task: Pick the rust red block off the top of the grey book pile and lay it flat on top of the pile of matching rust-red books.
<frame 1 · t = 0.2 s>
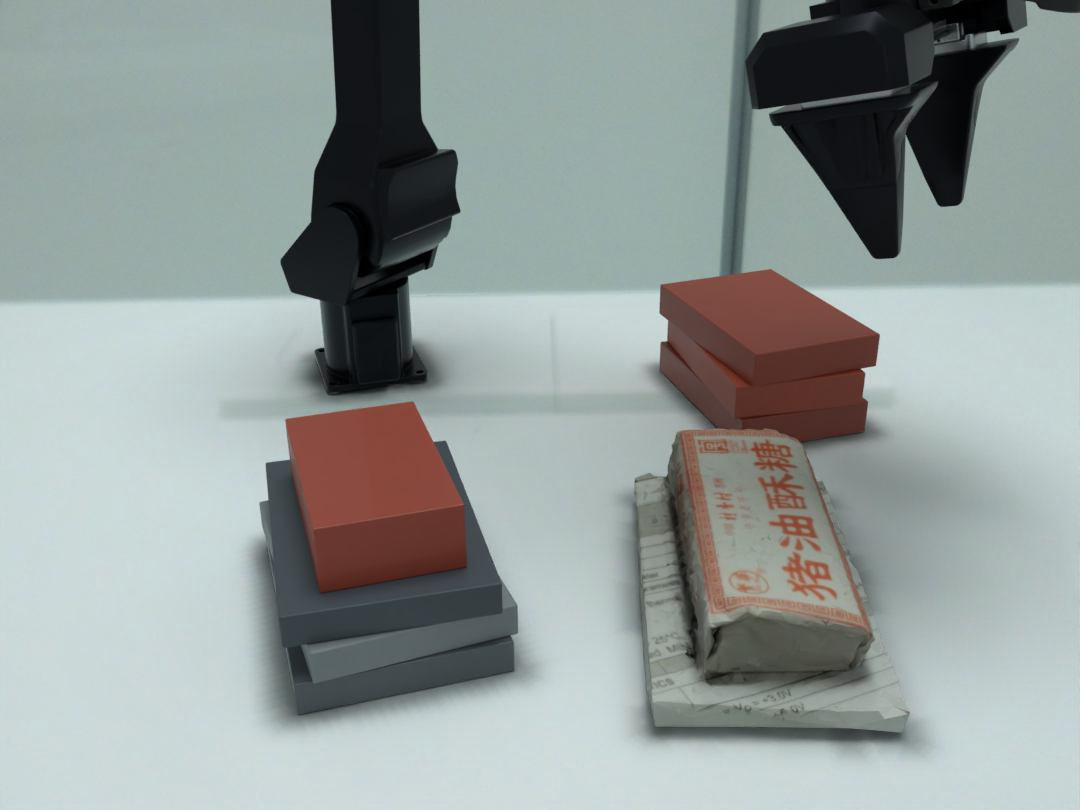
hand: (920, 230, 52), 15 cm above the table, tool pointing down, fingers open, 9 cm apart
rust red block: (373, 518, 51), point 4 cm above the table, touching grey book pile
packaged product: (747, 604, 53), on the table
rust book pile: (756, 399, 71), on the table
grey book pile: (380, 602, 53), on the table
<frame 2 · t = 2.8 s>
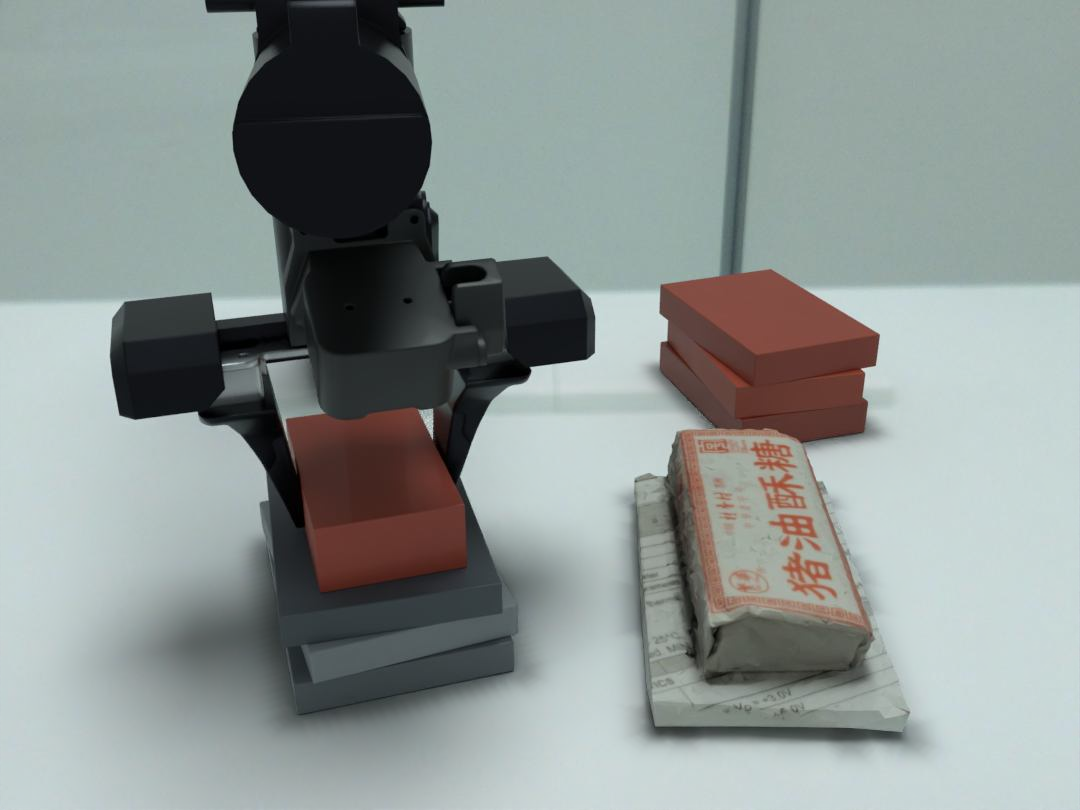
hand: (372, 511, 50), 5 cm above the table, tool pointing down, fingers closed on rust red block, 6 cm apart
rust red block: (373, 518, 51), point 5 cm above the table, touching grey book pile, gripper
everything else where it was.
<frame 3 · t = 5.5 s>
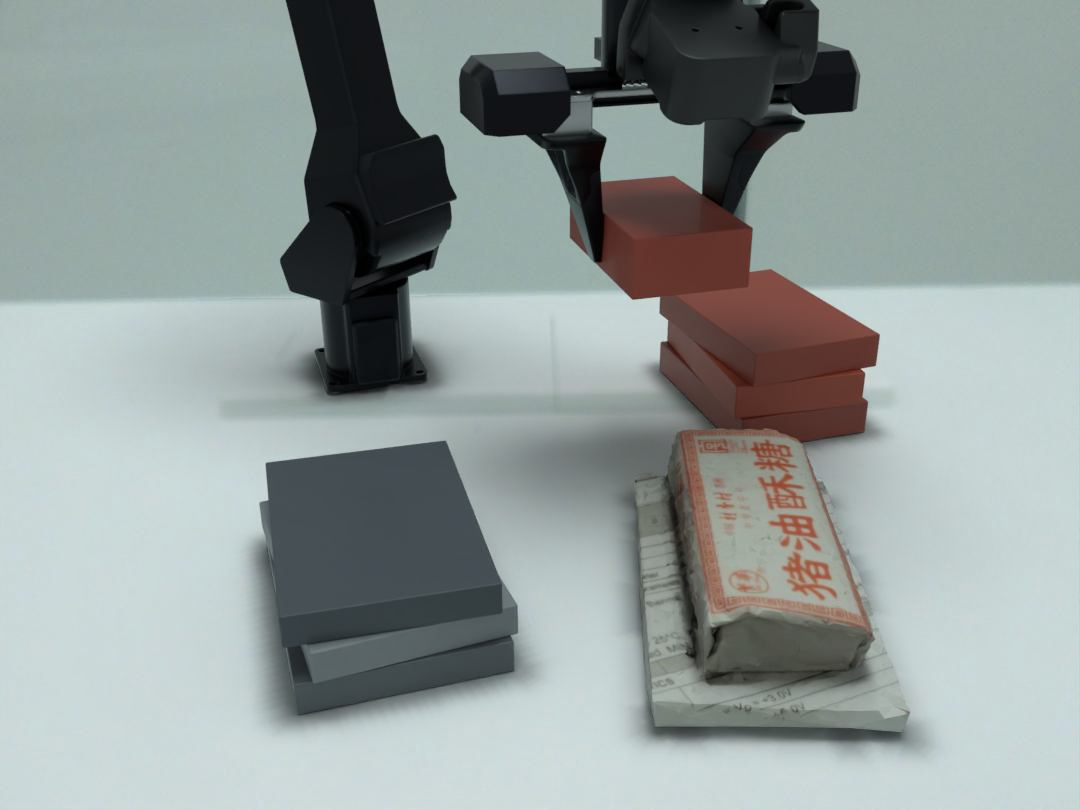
hand: (653, 254, 59), 12 cm above the table, tool pointing down, fingers closed on rust red block, 6 cm apart
rust red block: (653, 261, 59), point 12 cm above the table, touching gripper
everything else where it was.
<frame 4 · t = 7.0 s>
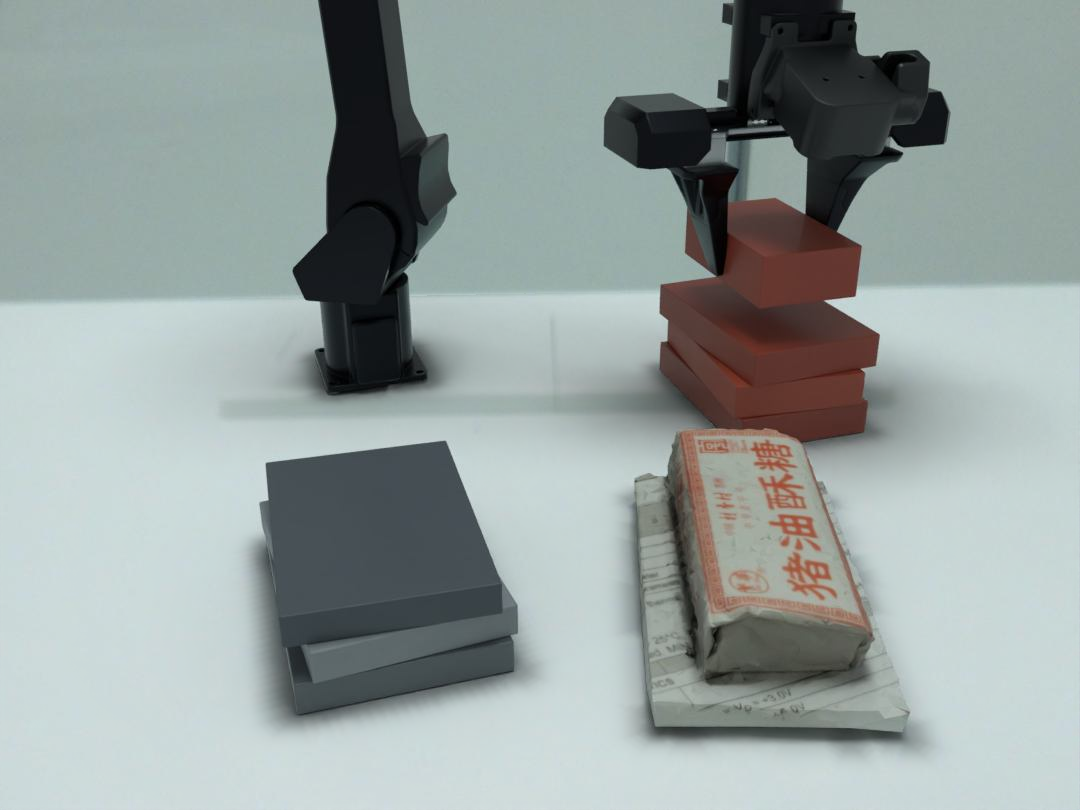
hand: (765, 268, 68), 9 cm above the table, tool pointing down, fingers closed on rust red block, 6 cm apart
rust red block: (765, 274, 68), point 8 cm above the table, touching gripper
everything else where it was.
when the fingers open (6 cm above the table, at t = 8.2 s): rust red block stays where it is, resting on rust book pile.
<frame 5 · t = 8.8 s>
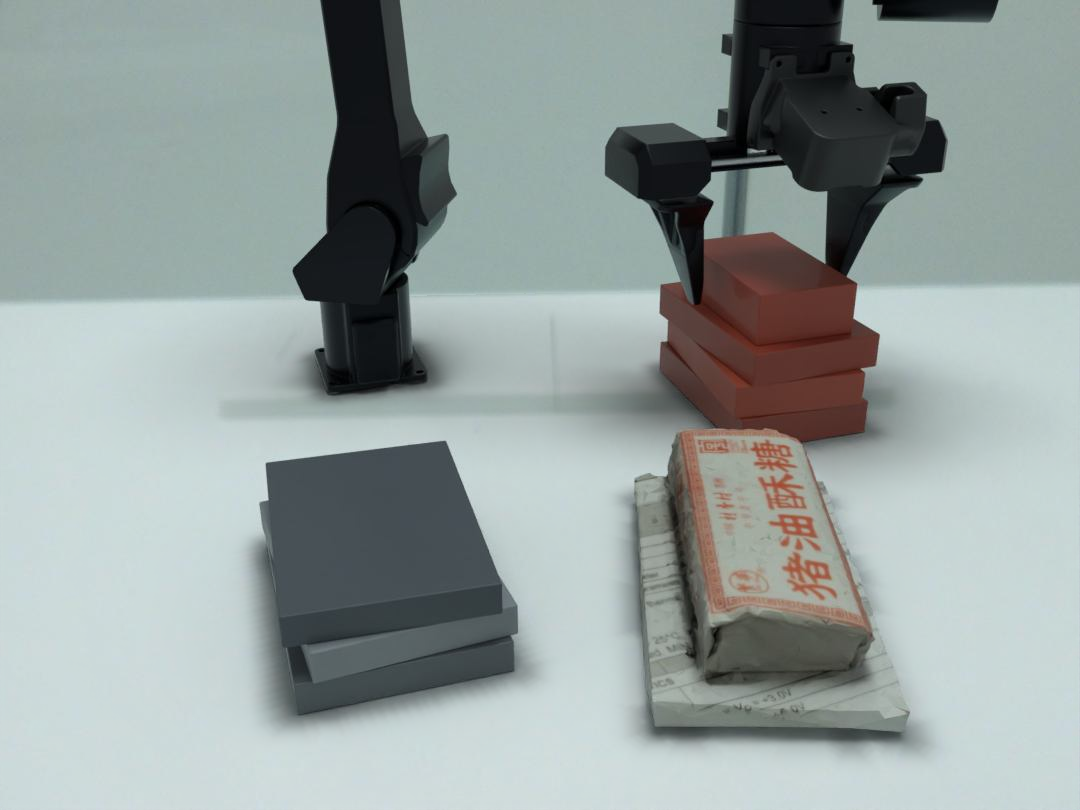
hand: (765, 294, 68), 7 cm above the table, tool pointing down, fingers open, 9 cm apart
rust red block: (763, 308, 69), point 6 cm above the table, touching rust book pile
everything else where it was.
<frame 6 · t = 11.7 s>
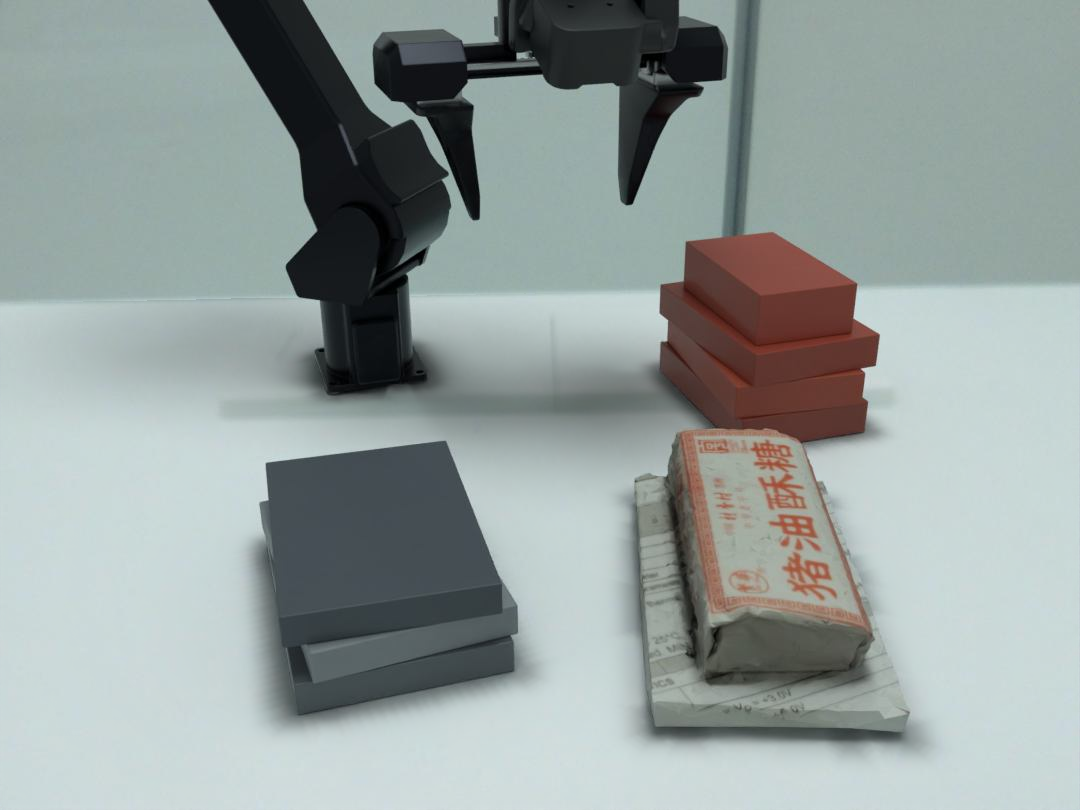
hand: (551, 211, 66), 12 cm above the table, tool pointing down, fingers open, 9 cm apart
nothing on the table moved.
at the end: rust red block 0.1 cm off-centre on the rust book pile, point 6.0 cm above the rust book pile's base; rust red block tilted 0°; the gripper is holding nothing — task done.
